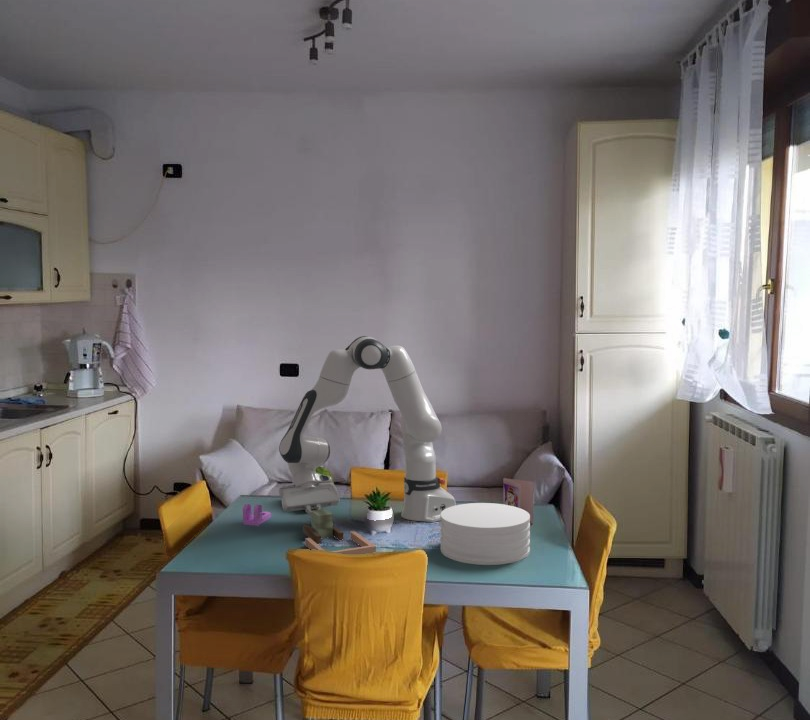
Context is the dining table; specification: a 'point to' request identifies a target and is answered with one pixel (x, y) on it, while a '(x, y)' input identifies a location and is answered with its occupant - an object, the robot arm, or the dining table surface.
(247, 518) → the bracket
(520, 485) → the greeting card
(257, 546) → the dining table surface
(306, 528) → the walnut chute
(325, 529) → the sage block
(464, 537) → the plate stack
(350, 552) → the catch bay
